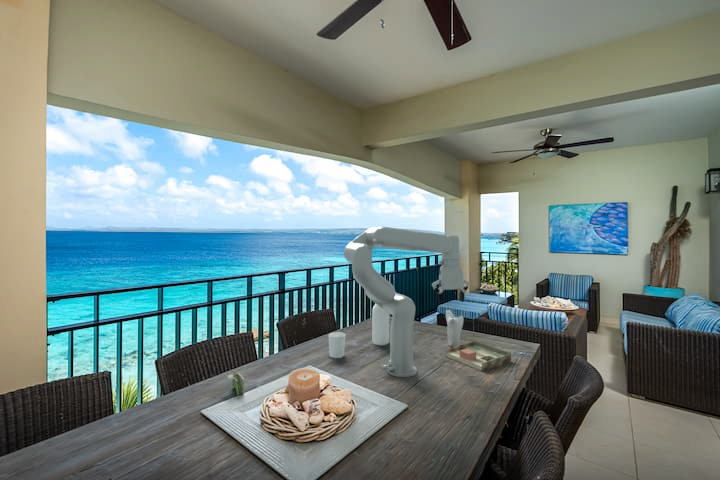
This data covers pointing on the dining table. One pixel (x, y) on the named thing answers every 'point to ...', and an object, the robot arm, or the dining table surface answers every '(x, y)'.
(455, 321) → the shell sculpture
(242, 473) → the dining table surface
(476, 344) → the box
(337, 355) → the white cup
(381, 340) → the alcohol
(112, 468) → the dining table surface
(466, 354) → the block
